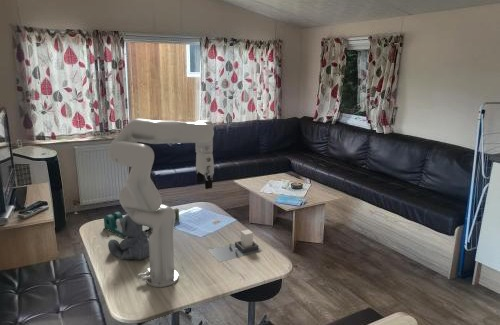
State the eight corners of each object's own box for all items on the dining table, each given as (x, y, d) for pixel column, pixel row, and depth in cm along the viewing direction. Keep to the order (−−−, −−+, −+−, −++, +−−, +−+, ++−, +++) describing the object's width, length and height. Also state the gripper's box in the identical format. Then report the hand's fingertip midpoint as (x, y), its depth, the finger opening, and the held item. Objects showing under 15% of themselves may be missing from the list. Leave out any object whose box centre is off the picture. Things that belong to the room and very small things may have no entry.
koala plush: (140, 240, 188) (138, 202, 183) (161, 253, 176) (160, 213, 171) (106, 252, 176) (103, 212, 171) (127, 268, 164) (124, 225, 159)
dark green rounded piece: (104, 228, 200) (103, 214, 198) (116, 224, 206) (115, 210, 204) (126, 238, 190) (125, 223, 188) (137, 233, 195) (136, 219, 193)
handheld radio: (180, 220, 212) (143, 236, 193) (176, 219, 214) (139, 234, 195) (179, 209, 211) (142, 223, 191) (175, 207, 213) (138, 222, 193)
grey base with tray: (218, 264, 169) (219, 256, 168) (207, 252, 179) (207, 245, 178) (262, 252, 179) (262, 246, 178) (249, 242, 189) (249, 235, 188)
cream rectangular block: (244, 250, 179) (245, 234, 177) (240, 246, 182) (241, 231, 180) (252, 248, 181) (252, 232, 179) (248, 245, 184) (248, 229, 182)
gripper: (220, 151, 166) (220, 189, 171) (204, 143, 181) (204, 178, 185) (203, 153, 163) (204, 192, 167) (188, 145, 177) (189, 180, 182)
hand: (204, 185), depth 176 cm, fingers open, 9 cm apart
